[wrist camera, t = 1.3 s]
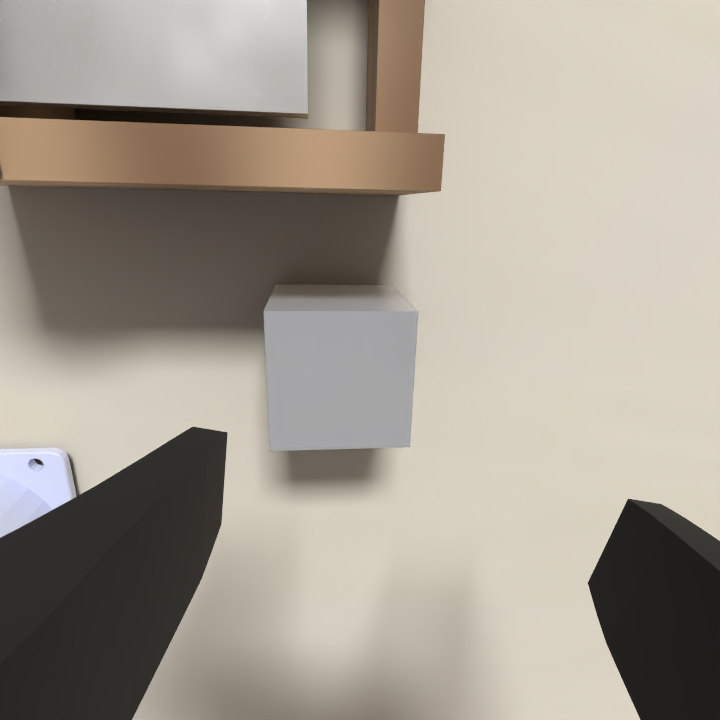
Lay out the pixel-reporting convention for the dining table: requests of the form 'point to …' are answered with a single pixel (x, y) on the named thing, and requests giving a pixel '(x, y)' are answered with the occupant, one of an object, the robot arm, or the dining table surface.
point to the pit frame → (247, 138)
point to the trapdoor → (156, 56)
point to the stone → (339, 366)
